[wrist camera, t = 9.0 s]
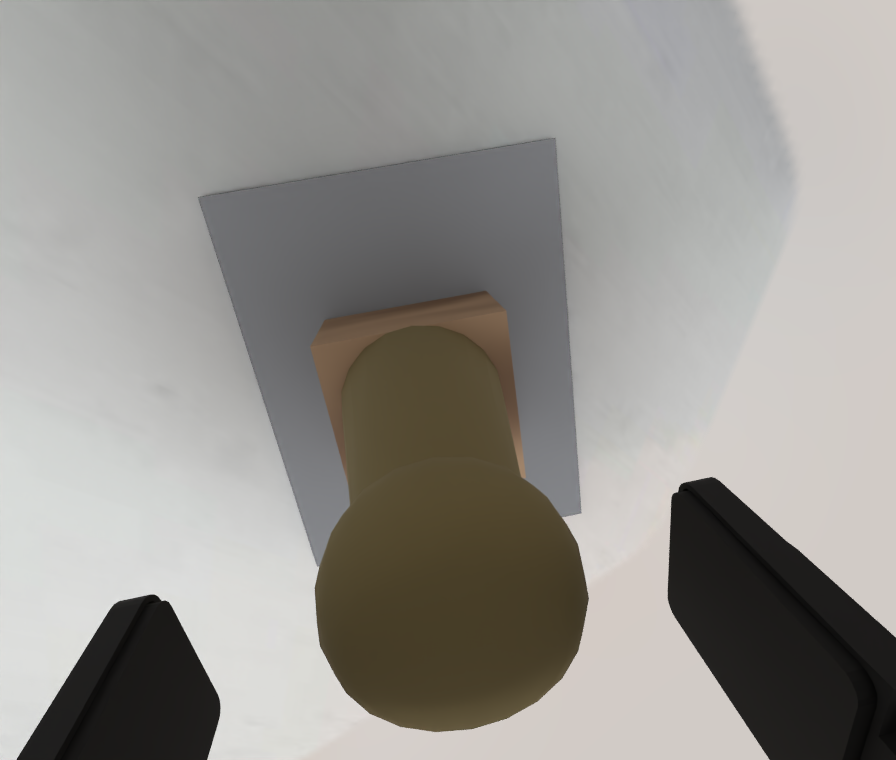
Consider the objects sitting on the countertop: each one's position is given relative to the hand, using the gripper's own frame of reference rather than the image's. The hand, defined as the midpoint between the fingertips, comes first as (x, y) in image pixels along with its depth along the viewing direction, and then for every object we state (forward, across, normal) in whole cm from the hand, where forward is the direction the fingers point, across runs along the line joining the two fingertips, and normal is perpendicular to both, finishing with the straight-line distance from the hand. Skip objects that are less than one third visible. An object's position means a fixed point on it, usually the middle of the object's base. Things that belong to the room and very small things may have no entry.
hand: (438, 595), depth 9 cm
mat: (+14, 0, +2) cm, 14 cm away
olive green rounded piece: (+10, 0, +1) cm, 10 cm away
